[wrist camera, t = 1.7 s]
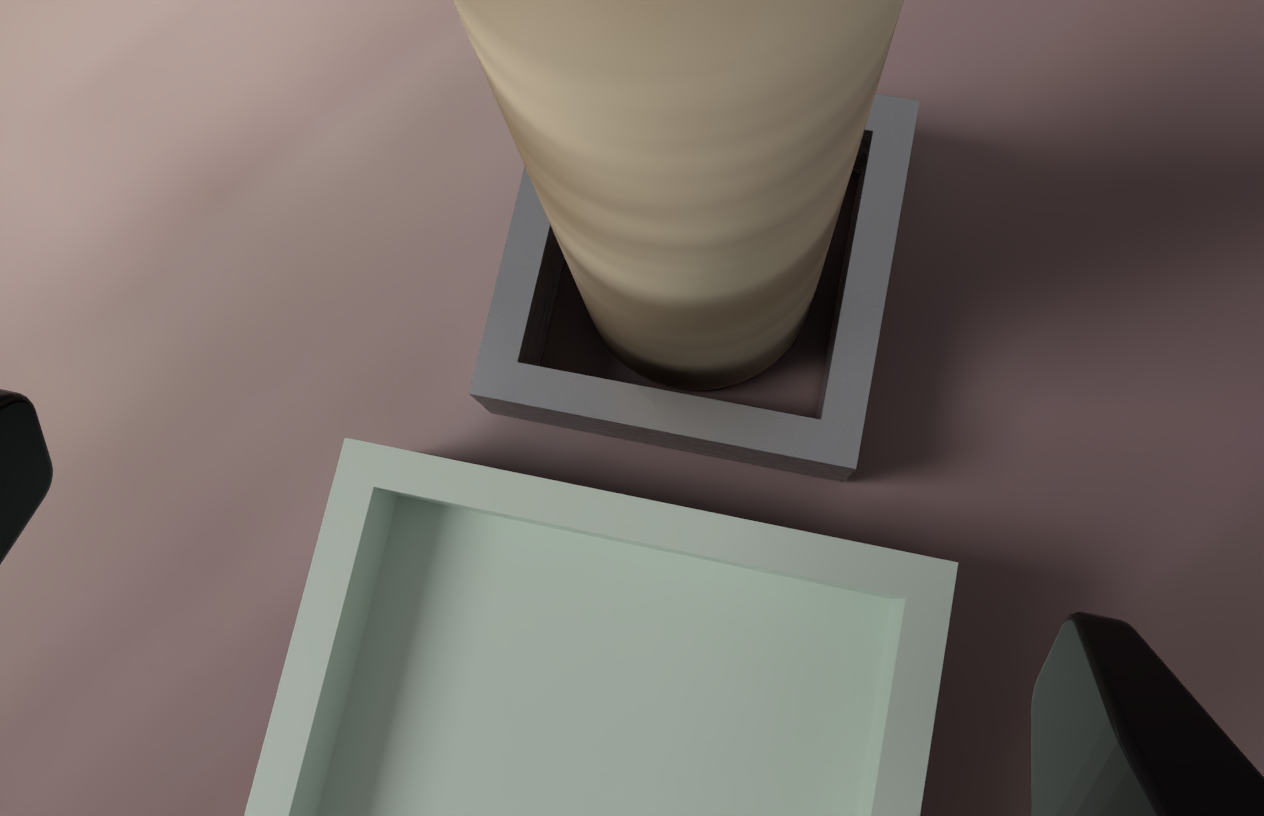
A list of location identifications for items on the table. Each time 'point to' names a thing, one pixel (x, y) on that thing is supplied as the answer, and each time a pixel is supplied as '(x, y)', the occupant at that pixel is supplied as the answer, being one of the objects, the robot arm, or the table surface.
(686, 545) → the tray
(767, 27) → the dowel
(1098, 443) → the table surface
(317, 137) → the table surface
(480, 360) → the dowel holder
